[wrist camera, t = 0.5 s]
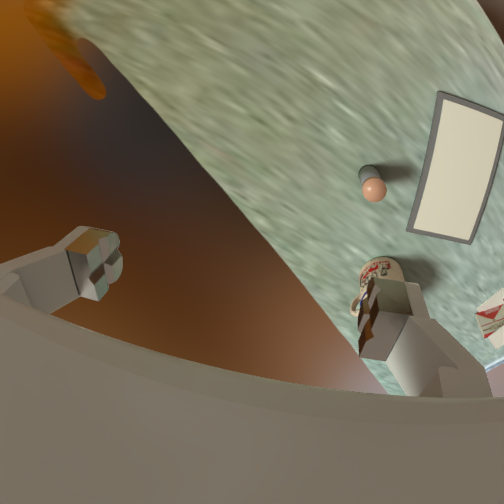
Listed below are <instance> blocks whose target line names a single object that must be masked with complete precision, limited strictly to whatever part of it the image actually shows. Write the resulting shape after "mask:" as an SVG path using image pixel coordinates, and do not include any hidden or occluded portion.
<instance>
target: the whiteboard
mask: <svg viewBox="0 0 504 504" xmlns="http://www.w3.org/2000/svg"><path fill="white" fill-rule="evenodd" d="M503 138H504V115H501V114H499V113H497V112H494V111H492V110H489V109H487V108H484V107H482V106H479V105H477V104H474V103H471V102H469V101H466V100H463V99H460V98H457V97H454V96H452V95H449V94H445V93H442V92H439V91H437V97H436V103H435V109H434V115H433V121H432V126H431V131H430V136H429V141H428V146H427V151H426V155H425V160H424V164H423V168H422V173H421V177H420V181H419V185H418V189H417V192H416V196H415V200H414V204H413V207H412V211H411V214H410V218H409V221H408V224H407V228H406V231H407V232H411V233H416V234H421V235H426V236H431V237H436V238H440V239H445V240H450V241H454V242H459V243H463V244H468V245H471V242H472V240H473V237H474V235H475V232H476V229H477V227H478V224H479V221H480V218H481V215H482V213H483V210H484V207H485V204H486V201H487V197H488V194H489V191H490V188H491V184H492V181H493V177H494V174H495V170H496V167H497V163H498V159H499V155H500V151H501V147H502V142H503Z"/></svg>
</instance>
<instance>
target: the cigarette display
mask: <svg viewBox="0 0 504 504" xmlns="http://www.w3.org/2000/svg"><path fill="white" fill-rule="evenodd" d="M477 311H478V312H479V313H476V320H477V322H478V325H479V327H480V330H481V332H482V335H483V337H484V338H487V337H488V338H489V340H490V341H491V342H492V344H493V345H494V347H495V348H496V349H498V348H499V347H501V346H502V345H503V344H504V287H503V288H502V289H500V290H499V291H498V292H497V293H496V294H494V295H493V296H492V297H491V298H489V299H488V300H487V301H486V302H484V303H483V304H482V305H480V306H479V307H478V308H477Z"/></svg>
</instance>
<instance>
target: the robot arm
mask: <svg viewBox="0 0 504 504" xmlns="http://www.w3.org/2000/svg"><path fill="white" fill-rule="evenodd" d="M119 245H120V243H119V237H118V235H117V234H116V233H115V232H110V231H106V230H101V229H96V228H91V227H85V226H79V227H78V228H76V229H75V230H73V231H72V232H71V233H70V234H68V235H67V236H66V237H65V238H63V239H62V240H61V241H60V242H58V243H57V244H56V245H55V246H54V247H47V248H44V249H41V250H39V251H35V252H33V253H30V254H27V255H24V256H22V257H19V258H16V259H13V260H11V261H8V262H5V263H3V264H0V504H504V397H493V396H492V392H491V388H490V385H489V382H488V378H487V375H486V372H485V369H484V367H483V366H482V365H481V364H480V363H479V362H478V361H477V360H476V359H475V358H474V357H473V356H472V355H471V354H470V353H469V352H468V351H467V350H466V349H465V348H464V347H463V346H462V345H461V344H460V343H459V342H458V341H457V340H456V339H455V338H454V337H453V336H452V335H451V334H450V333H449V332H448V331H447V330H446V329H444V328H443V327H442V326H441V325H440V324H439V323H438V322H437V321H436V320H435V319H430V316H429V313H428V310H427V307H426V304H425V301H424V298H423V295H422V292H421V289H420V286H419V285H418V284H417V283H411V282H403V281H395V280H388V279H381V278H374V277H371V279H370V280H369V283H368V285H367V297H366V298H364V299H363V300H362V303H361V306H360V310H359V315H358V331H359V332H360V333H361V335H360V338H359V340H358V345H359V357H361V358H367V359H374V360H381V361H386V362H385V363H386V364H387V366H388V367H389V369H390V370H391V372H392V373H393V375H394V376H395V378H396V379H397V381H398V383H399V384H400V386H401V387H402V389H403V390H404V392H405V393H406V395H407V396H398V395H385V394H373V393H362V392H353V391H344V390H336V389H328V388H321V387H314V386H307V385H301V384H295V383H289V382H283V381H278V380H272V379H267V378H262V377H257V376H252V375H247V374H243V373H238V372H234V371H229V370H225V369H220V368H216V367H212V366H208V365H204V364H199V363H196V362H192V361H188V360H184V359H180V358H177V357H173V356H170V355H166V354H163V353H159V352H156V351H152V350H149V349H145V348H142V347H139V346H136V345H133V344H129V343H126V342H123V341H120V340H117V339H114V338H111V337H108V336H105V335H102V334H100V333H97V332H94V331H91V330H88V329H86V328H83V327H80V326H78V325H75V324H72V323H70V322H67V321H65V320H62V319H59V318H57V317H55V316H52V315H50V313H52V312H54V311H56V310H57V309H59V308H61V307H63V306H64V305H66V304H68V303H70V302H71V301H73V300H75V299H77V298H78V297H79V296H81V297H85V298H89V299H92V300H96V301H99V300H100V299H101V298H102V296H103V295H104V294H105V293H106V292H107V290H108V289H109V288H108V284H110V283H113V282H115V281H116V280H117V279H118V278H119V276H120V274H121V271H122V267H123V266H122V265H123V260H122V255H121V254H120V252H119V251H118V250H117V248H118V247H119Z"/></svg>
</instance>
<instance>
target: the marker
mask: <svg viewBox="0 0 504 504" xmlns="http://www.w3.org/2000/svg"><path fill="white" fill-rule="evenodd" d="M358 175H359V179H360V183H361V186H362V190H363V194H364V196H365V198H366V199H367V200H369V201H371V202H378V201H381V200H382V199H383V198H384V197H385V195H386V192H387V189H386V186H385V184H384V182H383V180H382V178H381V176H380V174H379V172H378V170H377V169H376V168H375V167H374V166H372V165H365V166H363V167H362V168H361V169H360V170H359V174H358Z"/></svg>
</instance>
